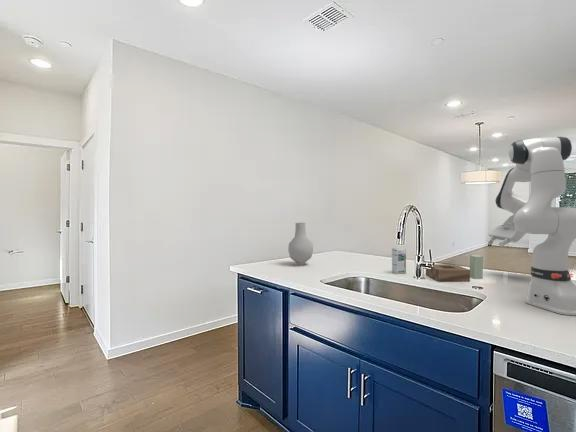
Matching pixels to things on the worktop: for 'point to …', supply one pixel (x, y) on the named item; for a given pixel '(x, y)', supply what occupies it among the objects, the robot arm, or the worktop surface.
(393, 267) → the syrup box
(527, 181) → the robot arm
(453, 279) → the well block
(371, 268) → the worktop surface
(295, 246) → the vase
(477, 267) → the peg
